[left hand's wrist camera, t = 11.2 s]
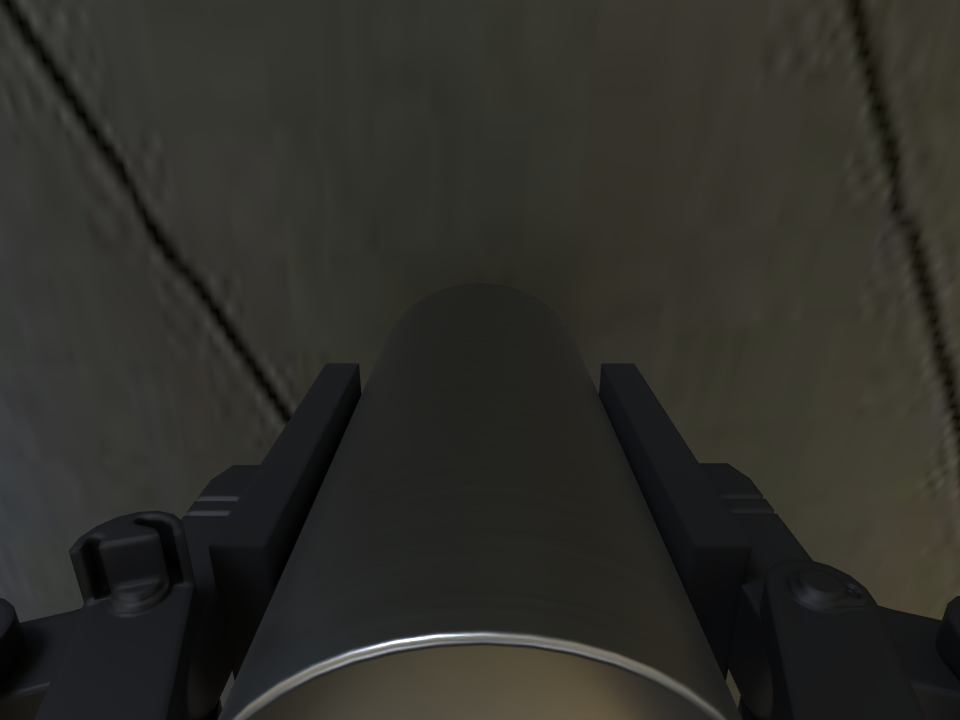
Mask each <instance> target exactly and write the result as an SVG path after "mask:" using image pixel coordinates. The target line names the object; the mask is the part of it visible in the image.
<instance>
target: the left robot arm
mask: <svg viewBox="0 0 960 720" xmlns="http://www.w3.org/2000/svg"><path fill="white" fill-rule="evenodd" d="M360 397H361V385H360V372H359V364H326V365H325V366H324V368H323V370H322V371H321V373H320V374H319V376H318V377H317V379H316V380H315V382H314V383H313V385H312V387H311V388H310V390H309V391H308V393H307V394H306V396H305V397H304V399H303V400H302V402H301V403H300V405H299V407H298V408H297V410H296V411H295V413H294V414H293V416H292V417H291V419H290V420H289V422H288V423H287V425H286V427H285V428H284V430H283V431H282V433H281V434H280V436H279V437H278V439H277V440H276V442H275V444H274V445H273V447H272V448H271V450H270V451H269V453H268V454H267V456H266V457H265V459H264V460H263V462H262V464H261V465H233V466H232V467H230V468H229V469H227V470H226V471H224V472H223V473H221V474H220V475H218V476H217V477H215V478H214V479H212V480H211V481H210V482H209V484H208V485H207V486H206V488H205V489H204V490H203V492H202V493H201V494H200V496H199V497H198V501H195V502H194V503H193V505H192V506H191V507H190V509H189V510H188V511H187V516H184V517H183V518H182V519H181V520H180V519H179V518H177V517H176V516H175V515H174V514H170V513H165V512H161V511H148V512H137V513H133V514H129V515H125V516H120V517H117V518H115V519H112V520H110V521H108V522H105V523H103V524H101V525H98V526H96V527H95V528H93V529H92V530H90V531H89V532H88V533H86V534H85V535H83V536H82V537H80V538H79V539H78V540H77V542H76V543H75V544H74V545H73V546H72V548H71V549H70V550H69V554H70V557H71V560H72V564H73V567H74V570H75V574H76V577H77V580H78V584H79V587H80V590H81V594H82V597H83V600H84V605H83V607H82V608H81V609H78V610H74V611H71V612H67V613H62V614H58V615H53V616H49V617H44V618H40V619H35V620H31V621H26V622H22V623H19V620H18V617H17V614H16V612H15V609H14V606H13V605H11V604H10V603H9V602H8V601H6V600H5V599H1V598H0V720H218V718H219V716H220V714H221V711H222V706H221V701H220V696H221V694H222V692H223V690H224V687H225V685H226V683H227V681H228V679H229V676H230V674H231V672H232V670H233V675H234V680H236V677H237V675H238V673H239V671H240V668H241V666H242V664H243V662H244V659H245V657H246V655H247V653H248V650H249V648H250V646H251V644H252V641H253V639H254V637H255V634H256V632H257V630H258V628H259V625H260V623H261V621H262V619H263V616H264V614H265V612H266V610H267V607H268V605H269V603H270V601H271V598H272V596H273V594H274V592H275V589H276V587H277V585H278V582H279V580H280V578H281V576H282V573H283V571H284V569H285V567H286V564H287V562H288V560H289V558H290V555H291V553H292V551H293V549H294V546H295V544H296V542H297V540H298V537H299V535H300V533H301V530H302V528H303V526H304V524H305V521H306V519H307V517H308V515H309V512H310V510H311V508H312V506H313V503H314V501H315V499H316V497H317V494H318V492H319V490H320V487H321V485H322V483H323V481H324V478H325V476H326V474H327V472H328V469H329V467H330V465H331V463H332V460H333V458H334V456H335V454H336V451H337V449H338V447H339V445H340V442H341V440H342V438H343V435H344V433H345V431H346V429H347V426H348V424H349V422H350V420H351V417H352V415H353V413H354V411H355V408H356V406H357V404H358V402H359V399H360ZM599 397H600V399H601V402H602V404H603V406H604V408H605V411H606V413H607V415H608V417H609V420H610V422H611V424H612V426H613V429H614V431H615V433H616V435H617V438H618V440H619V442H620V444H621V447H622V449H623V451H624V453H625V456H626V458H627V460H628V463H629V465H630V467H631V469H632V472H633V474H634V476H635V478H636V481H637V483H638V485H639V487H640V490H641V492H642V494H643V496H644V499H645V501H646V503H647V505H648V508H649V510H650V512H651V514H652V517H653V519H654V521H655V523H656V526H657V528H658V530H659V533H660V535H661V537H662V539H663V542H664V544H665V546H666V548H667V551H668V553H669V555H670V557H671V560H672V562H673V564H674V566H675V569H676V571H677V573H678V575H679V578H680V580H681V582H682V584H683V587H684V589H685V591H686V593H687V596H688V598H689V600H690V603H691V605H692V607H693V609H694V612H695V614H696V616H697V618H698V621H699V623H700V625H701V627H702V630H703V632H704V634H705V636H706V639H707V641H708V643H709V645H710V648H711V650H712V652H713V654H714V657H715V659H716V661H717V663H718V666H719V668H720V670H721V672H722V675H723V677H724V679H725V682H726V677H727V672H728V668H729V670H730V672H731V675H732V677H733V679H734V681H735V683H736V686H737V688H738V690H739V692H740V694H741V696H740V701H739V706H738V711H739V713H740V715H741V718H742V720H960V596H957V597H956V598H954V599H953V600H952V601H951V602H949V603H948V605H947V607H946V610H945V613H944V616H943V619H942V620H937V619H933V618H928V617H924V616H919V615H915V614H910V613H905V612H901V611H896V610H892V609H888V608H885V607H881V606H878V605H877V604H876V602H875V600H874V599H873V597H872V596H871V595H870V593H869V592H868V590H867V589H866V588H865V587H864V586H862V585H861V584H860V583H859V582H857V581H856V580H855V579H854V578H852V577H851V576H850V575H848V574H846V573H844V572H842V571H840V570H838V569H836V568H833V567H831V566H829V565H825V564H822V563H818V562H815V561H813V560H812V559H811V558H810V556H809V555H808V554H807V552H806V551H805V550H804V549H803V547H802V546H801V545H800V543H799V542H798V541H797V539H796V538H795V537H794V536H793V534H792V533H791V532H790V530H789V529H788V528H787V526H786V525H785V524H784V522H783V521H782V520H781V519H780V517H779V516H778V515H777V514H774V509H773V508H772V507H771V506H770V504H769V503H768V502H767V500H766V499H763V495H762V494H761V492H760V491H759V490H758V489H757V487H756V486H755V485H754V483H753V482H752V481H751V479H750V478H748V477H747V476H745V475H744V474H742V473H741V472H739V471H738V470H736V469H735V468H733V467H732V466H730V465H729V464H727V463H698V461H697V460H696V458H695V457H694V455H693V454H692V452H691V451H690V449H689V447H688V446H687V444H686V443H685V441H684V440H683V438H682V437H681V435H680V434H679V432H678V431H677V429H676V427H675V426H674V424H673V423H672V421H671V420H670V418H669V417H668V415H667V414H666V412H665V411H664V409H663V407H662V406H661V404H660V403H659V401H658V400H657V398H656V397H655V395H654V394H653V392H652V391H651V389H650V387H649V386H648V384H647V383H646V381H645V380H644V378H643V377H642V375H641V374H640V372H639V370H638V369H637V367H636V366H635V364H601V377H600V389H599Z"/></svg>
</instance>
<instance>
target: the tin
mask: <svg viewBox="0 0 960 720" xmlns="http://www.w3.org/2000/svg"><path fill="white" fill-rule="evenodd" d="M218 720H742V718H741V715H740V713H739V711H738V709H737V706H736V704H735V702H734V700H733V697H732V695H731V693H730V691H729V688H728V686H727V684H726V682H725V679H724V677H723V675H722V672H721V670H720V668H719V666H718V663H717V661H716V659H715V657H714V654H713V652H712V650H711V648H710V645H709V643H708V641H707V639H706V636H705V634H704V632H703V630H702V627H701V625H700V623H699V621H698V618H697V616H696V614H695V612H694V609H693V607H692V605H691V603H690V600H689V598H688V596H687V593H686V591H685V589H684V587H683V584H682V582H681V580H680V578H679V575H678V573H677V571H676V569H675V566H674V564H673V562H672V560H671V557H670V555H669V553H668V551H667V548H666V546H665V544H664V542H663V539H662V537H661V535H660V533H659V530H658V528H657V526H656V523H655V521H654V519H653V517H652V514H651V512H650V510H649V508H648V505H647V503H646V501H645V499H644V496H643V494H642V492H641V490H640V487H639V485H638V483H637V481H636V478H635V476H634V474H633V472H632V469H631V467H630V465H629V463H628V460H627V458H626V456H625V453H624V451H623V449H622V447H621V444H620V442H619V440H618V438H617V435H616V433H615V431H614V429H613V426H612V424H611V422H610V420H609V417H608V415H607V413H606V411H605V408H604V406H603V404H602V402H601V399H600V397H599V395H598V393H597V390H596V388H595V386H594V384H593V381H592V379H591V377H590V374H589V372H588V370H587V368H586V365H585V363H584V361H583V359H582V356H581V354H580V352H579V350H578V347H577V345H576V343H575V341H574V338H573V336H572V335H571V333H570V332H569V330H568V328H567V327H566V325H565V324H564V323H563V322H562V321H561V319H560V318H559V317H558V316H557V315H556V314H555V313H554V312H553V311H552V310H551V309H550V308H548V307H547V306H546V305H544V304H543V303H542V302H540V301H539V300H537V299H536V298H534V297H532V296H530V295H528V294H526V293H524V292H521V291H518V290H515V289H512V288H509V287H505V286H500V285H494V284H466V285H461V286H455V287H451V288H448V289H445V290H442V291H439V292H437V293H435V294H432V295H430V296H428V297H426V298H425V299H423V300H422V301H420V302H419V303H417V304H415V305H414V306H413V307H412V308H411V309H410V310H408V311H407V312H406V313H405V314H404V315H403V316H402V317H401V318H400V319H399V321H398V322H397V323H396V324H395V326H394V327H393V329H392V330H391V332H390V333H389V335H388V337H387V339H386V341H385V343H384V345H383V347H382V350H381V352H380V354H379V356H378V359H377V361H376V363H375V365H374V368H373V370H372V372H371V374H370V377H369V379H368V381H367V383H366V386H365V388H364V390H363V393H362V395H361V397H360V399H359V402H358V404H357V406H356V408H355V411H354V413H353V415H352V417H351V420H350V422H349V424H348V426H347V429H346V431H345V433H344V435H343V438H342V440H341V442H340V445H339V447H338V449H337V451H336V454H335V456H334V458H333V460H332V463H331V465H330V467H329V469H328V472H327V474H326V476H325V478H324V481H323V483H322V485H321V487H320V490H319V492H318V494H317V497H316V499H315V501H314V503H313V506H312V508H311V510H310V512H309V515H308V517H307V519H306V521H305V524H304V526H303V528H302V530H301V533H300V535H299V537H298V540H297V542H296V544H295V546H294V549H293V551H292V553H291V555H290V558H289V560H288V562H287V564H286V567H285V569H284V571H283V573H282V576H281V578H280V580H279V582H278V585H277V587H276V589H275V592H274V594H273V596H272V598H271V601H270V603H269V605H268V607H267V610H266V612H265V614H264V616H263V619H262V621H261V623H260V625H259V628H258V630H257V632H256V634H255V637H254V639H253V641H252V644H251V646H250V648H249V650H248V653H247V655H246V657H245V659H244V662H243V664H242V666H241V668H240V671H239V673H238V675H237V677H236V680H235V682H234V684H233V686H232V689H231V691H230V693H229V696H228V698H227V700H226V702H225V705H224V707H223V709H222V711H221V714H220V716H219V718H218Z"/></svg>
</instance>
